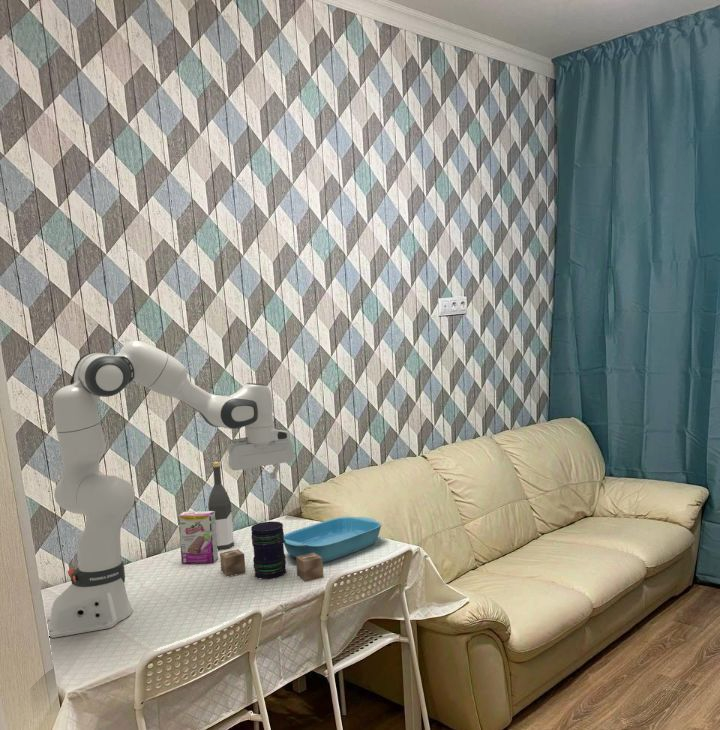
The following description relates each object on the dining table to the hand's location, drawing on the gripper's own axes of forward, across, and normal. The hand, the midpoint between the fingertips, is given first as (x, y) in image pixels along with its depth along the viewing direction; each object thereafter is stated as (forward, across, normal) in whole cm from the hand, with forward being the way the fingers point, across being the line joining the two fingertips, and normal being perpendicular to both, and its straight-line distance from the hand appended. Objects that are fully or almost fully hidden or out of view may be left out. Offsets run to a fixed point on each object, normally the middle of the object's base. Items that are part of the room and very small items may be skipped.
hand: (263, 480), depth 214 cm
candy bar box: (+29, -15, +26) cm, 42 cm away
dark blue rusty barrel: (+29, 0, 0) cm, 29 cm away
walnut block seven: (+29, -9, +9) cm, 32 cm away
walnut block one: (+29, +9, -10) cm, 32 cm away
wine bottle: (+29, -4, +37) cm, 47 cm away
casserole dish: (+30, +26, +9) cm, 40 cm away
